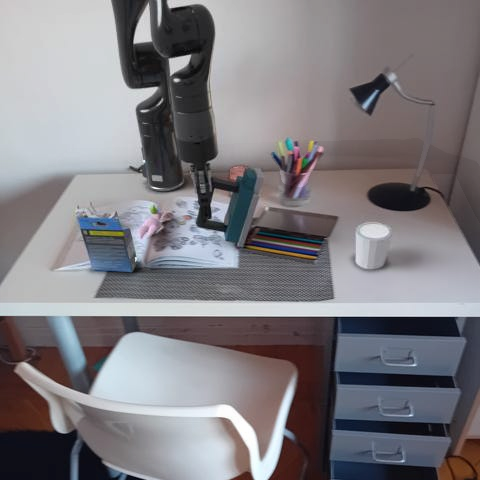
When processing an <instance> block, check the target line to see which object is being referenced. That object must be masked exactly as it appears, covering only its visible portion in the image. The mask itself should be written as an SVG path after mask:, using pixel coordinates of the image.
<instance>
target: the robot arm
mask: <svg viewBox="0 0 480 480" xmlns="http://www.w3.org/2000/svg"><path fill="white" fill-rule="evenodd" d="M168 1H169V0H110V3H111V7H112V13H113V19H114V26H115V33H116V42H117V49H118V58H119V66H120V71H121V76H122V79H123V81H124V84H125V86H126V87H127V88H128V89H130V90H143V89H151V88H156V89H155V91H154V92H153V93H152V94H151V96H149V97H147V98H146V99H144V100H142V101H140V102H139V103H138V104H137V105H136V106H135V110H134V111H135V116H136V122H137V127H138V132H139V137H140V143H141V148H140V149H141V155H142V161H143V164H141V165H140V166H139V167H137V168H136V167H134V166H132V165H129V169H130V170H132V171H134V172H140V171H141V173H142V177H144V178H146V182H147V184H148V188H149V189H150V190H152V191H155V192H170V191H174V190H177V189H180V188H181V187H183V186H184V184H185V177H184V171H183V163H185V164H189V168H190V169H189V170H190V177H191V180H192V183H193V188H194V189H193V190H194V193H195V194H196V195H197V204H198V206H199V208H200V212H201V219H202V220H211V219H212V218H213V212H212V206H211V205H212V201H213V200H212V201H211V198H210V192H211V191H212V186H211V177H213V176H212V168H211V161H213V160H215V159H216V158H217V157H218V156H219V148H218V147H219V145H218V135H217V127H216V118H215V113H214V109H213V108H214V107H213V101H212V93H211V92H212V91H211V72H212V62H213V55H214V49H215V44H216V43H215V42H216V25H215V20H214V18H213V15H212V13H211V11H210V10H209V9H208V7H206V6H205V5H204V4H201V3H194V4H188V5H187V4H186V5H180V6H175V7H169V3H168ZM147 7H148V9H149V24H150V25H149V27H150V29H149V30H150V38H151V41H142V42H141V41H140V42H135V35H136V31H137V28H138V24H139V22H140V20H141V18H142V17H143V14H144V12H145V11H146V9H147ZM134 42H135V43H134ZM186 56H187V57H188V56H190V57H189V60H188V63H187V64H186V65H185V66H184V67H182V68H180V69H178V70H177V71H174V72H173V73H172V74H171V64H170V59H171V60H172V59H176V58H181V57H186ZM182 162H183V163H182Z"/></svg>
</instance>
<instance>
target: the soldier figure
mask: <svg viewBox="0 0 480 480" xmlns="http://www.w3.org/2000/svg"><path fill="white" fill-rule="evenodd" d="M87 204H88V206H89V208H88V207H84V208H80V206H79V205H78V204H76V205H75V211H74V214H76V215H77V214H82V217H92V218H113V219H116V218H117V217H118V218H119V214H118V211H117V210H115V211H114V212H113V214H112V213H110V212H106V211H97V210H96V209H95V208H94V206H93V203H92V201H91V200H87Z"/></svg>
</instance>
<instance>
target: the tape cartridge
mask: <svg viewBox="0 0 480 480" xmlns="http://www.w3.org/2000/svg"><path fill="white" fill-rule="evenodd" d="M76 220H77V222H78V227H79V229H80V230H79V231H80V233H81V236H82V239H83V242H84V246H85V249H86V252H87V255H88V259H89V263H90V266H91V269H92V271H107V272H119V273H120V272H122V273H133V272H134V271H135V269H136V267H137V266H138V263H139V262H138V260H137V261H136V262H135V257H137V252H136V247H135V244H134V238H133V235H132V231H131V228H130V227H122V224H121V221H120V219H119V218H118V219H113V218H92V217H88V216H85V217H83V216H76ZM97 222H100V223H99V224H105V225H94V224H98V223H97Z"/></svg>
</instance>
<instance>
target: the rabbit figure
mask: <svg viewBox="0 0 480 480" xmlns="http://www.w3.org/2000/svg"><path fill="white" fill-rule="evenodd" d="M164 212H165V211H162V210H161V211H160V210H158V208H156V205H155V204H153V205H152V206H151V208H150V214H151V217H148V218H146V220H144V221H143V223H142V225H143V226H142V225H141V226H140V227H138V229H137V234H138V238H139V239H140V240H142V239H143V238H144V236H145V235H146V239H147V240H149V239H150V238H151V237H152V235H156V234H155V233H156V232H157V231H158V230H159V229H160V227H161V224H163V223H161V222H160V221H159V220H160V218H161V216H162V214H163V213H164ZM152 217H153V218H152ZM146 232H147V233H146Z"/></svg>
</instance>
